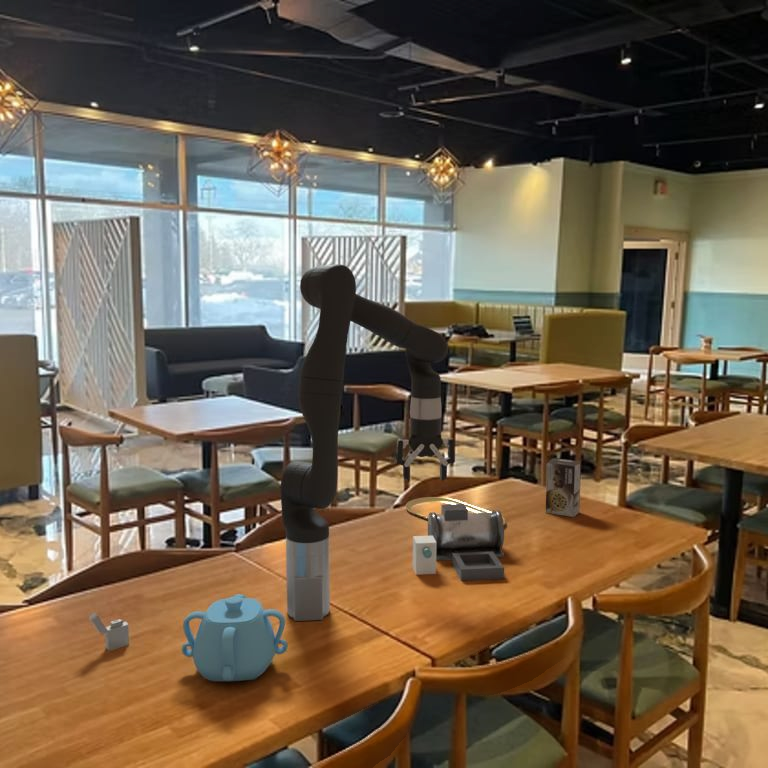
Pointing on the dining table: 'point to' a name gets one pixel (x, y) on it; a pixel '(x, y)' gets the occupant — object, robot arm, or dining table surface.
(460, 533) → the motor
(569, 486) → the coffee box
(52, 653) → the dining table surface
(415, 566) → the white box with button
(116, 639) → the lighter
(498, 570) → the tray
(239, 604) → the decorative pot
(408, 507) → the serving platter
